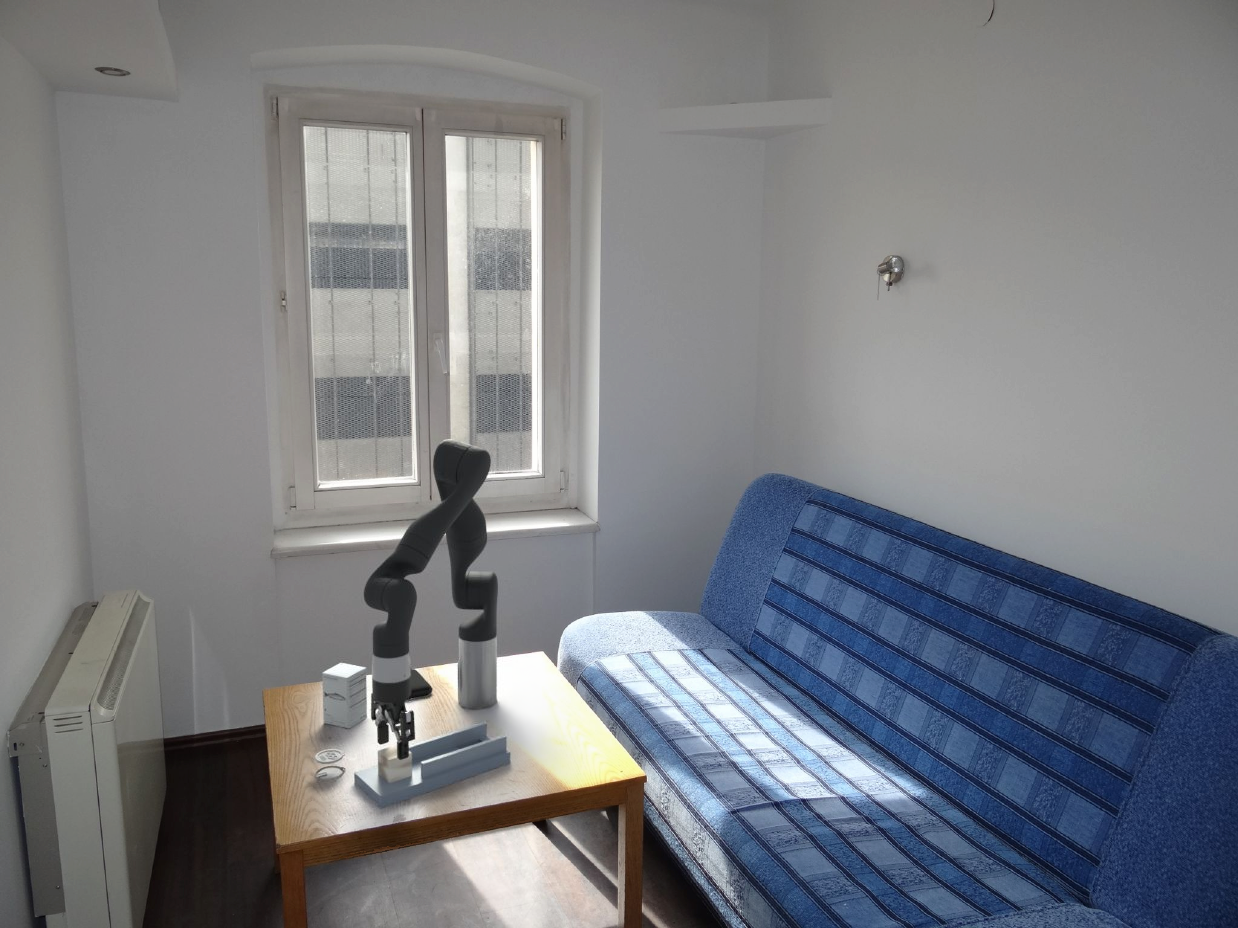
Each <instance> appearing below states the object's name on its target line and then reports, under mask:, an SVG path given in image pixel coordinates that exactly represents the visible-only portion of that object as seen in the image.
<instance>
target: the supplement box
mask: <svg viewBox="0 0 1238 928" xmlns="http://www.w3.org/2000/svg"><path fill="white" fill-rule="evenodd" d="M321 674H322V675H321V676H322V709H323V710H322V716H323V717H322V718H323V719H322V720H323V724H328V725H333V726H337V727H341V728H346V729H350V728H352V727H353V726H355V725H357V724H358V723H360V722H361V721H363V720H364V719H366V718H367V717H368V712H367V709H368V699H367V696H368V695H367V691H368V690H367V687H368V686H367V667H366V666H360V665H354V664H350V663H345V662H344V663H343V662H339V663H338V664H337V663H336V665H334V666H332V667H330V668H328V669H326V670H325V671H323V672H322V673H321Z"/></svg>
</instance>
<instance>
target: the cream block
mask: <svg viewBox="0 0 1238 928" xmlns="http://www.w3.org/2000/svg"><path fill="white" fill-rule="evenodd" d="M377 765H378V774H379V775H380V776H381V777H383V778H384V779H385V780H386V781H387V782H388V783H392V782H395V781H398V780H401V779H404V778H407V777H410V776H412V753H411V752H410V751H409V756H408V758H405V759H402V760H399V759H398V758H397V744H394V745H391V746H388V747H386V748H383V749H379V750H377Z"/></svg>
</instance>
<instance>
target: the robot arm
mask: <svg viewBox="0 0 1238 928" xmlns="http://www.w3.org/2000/svg"><path fill="white" fill-rule="evenodd" d="M491 458H492V457H491V455H490V453H489V451H487V450H486V449H484V448H481V447H480V446H476V445H473V444H469V443H466V442H465V441H461V440H457V439H453V438H451V439H450V438H448V439H444V440H442V441H440V443H439V444H438V445H437V447H436V449H435V451H434V455H433V460H432V462H433V463H432V469H433V475H434V480H435V484H436V488H437V491H438V494H439V498H440V502H439V504H437V505H435V506H433V507H432V508H431V509H428V510H427V511H426V512H424V513H422V514H421V515H419V516H418V517H417V518H416V519H414V520H413V522H412V523H411V524H410V525H409V526H408V527H407V529H406V531H405V532H404V534H403V536H402V537H401V539H400V541H399V542H398V544H397V546H396V547H395V550H394V551H393V552H392V553H391V554H390V555H389V556H388V557H387V558H386V559H385V560H384V561H383V562H382V563H381V564H380V565H379V566H378V567H377V568H376V569H375V570H374V571H373V572H372V573H371V575H370V576H369V578H367V581H366V582H365V586H364V589H363V600H364V603H365V604H366V605H367V606H368V607H370V608H371V609H373V610H376V611H377V610H378V611H382V612H385V613H387V619H386V620H384V621H380V622H378V623H377V624H376V625H374V627H373V629H372V630H373V631H372V662H371V681H372V682H371V684H372V685H371V686H372V689H371V691H372V693H371V694H370V719H371V721H374V724H375V726H376V728H377V729H376V730H377V731H376V732H377V733H376V734H377V735H376V736H377V744H379V745H384V744H385V745H386V744H388V743H389V742H390V731H391V732H392V733H393V734H394V735H395V738H396V745H397V758H398V759H399V760H402V759H405V758H408V756H409V745H410V742H411V741H414V740H416V730H415V727H416V726H415V712H414V710H413V709H411V710H407V708H406V703H405V702H406V701H407V700H406V699H407V698H409V697H410V695H411V669H412V663H411V662H412V661H411V657H410V655H411V654H410V635H409V634H410V630H411V626H412V622H413V618H414V614H415V610H416V606H417V602H418V595H417V590H416V587H415V585H414V584H413V582H412V581H410V580H409V579H406V577H409V576H410V575H417V574H420V573H423V571H424V570H425V569H426V568H427V566H428V564H429V562H430V560H431V559H432V557H433V555H434V554H435V552H436V550H437V548H438V546H439V544H440V542H441V541H442V539H443V538H444V536H445V538H446V544H447V549H448V557H449V563H450V577H451V582H450V583H451V593H452V594H451V595H452V596H451V597H452V602H453V604H454V606H455V607H456V608H457V609H460V610H468V611H470V610H471V611H472V610H473V611H475V610H477V611H481V610H482V611H483V612H481V614H479V615H477V616H475V617H472V618H469V619H466V620H464V621H463V622H461V623H460V625H459V626H458V662H457V699H458V702H459V705H460V706H461V707H463V708H465V709H469V710H483V709H487V708H491V707H492V706H494V705H496V704H497V702H498V699H497V698H498V697H497V696H498V695H497V693H498V690H497V688H498V687H497V686H498V684H497V683H498V681H497V680H498V677H497V676H498V675H497V673H498V671H497V670H498V669H497V667H498V665H497V664H498V662H497V661H498V657H497V656H498V655H497V654H498V652H497V651H498V649H497V648H498V646H497V643H498V641H497V640H498V638H497V637H498V636H497V635H498V633H497V630H498V629H497V625H498V623H497V622H498V621H497V619H498V617H497V609H498V595H499V594H498V593H499V581H498V577H497V574H496V573H495V572H493V571H482V570H481V571H480V570H479V571H477V570H476V571H470V570H469V571H468V569H469V567H470V566H471V565H473V563H474V562H475V560H476V559H477V558H478V557H479V556H480V555H481V554H482V552H483V551H484V549H485V547H486V546H487V543H488V532H487V522H486V516H485V515H484V512H483V510H482V508H480V506H479V505H478V503H477V501H476V500H475V499H474V497H475V496H476V494H477V493H478V492H479V490H480V489H481V487H482V486H483V484H484V483H485V481H486V479H487V478H488V475H489V473H490V471H491V465H492V463H491V462H492V461H491ZM399 724H400V725H399Z"/></svg>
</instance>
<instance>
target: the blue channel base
mask: <svg viewBox="0 0 1238 928" xmlns="http://www.w3.org/2000/svg"><path fill="white" fill-rule="evenodd" d="M487 728H488V727H487V722H485V721H483V722H479V723H477V724H473V725H470V726H466V727H463V728H461V729H457V730H454V731H451V732H448V733H444V734H441V735H438V736H434V737H431V738H427V739H426V740H422V741H419V742H416V743H413V744H409V751H410V752H411V753H412V776H410V777H407V778H404V779H401V780H398V781H395V782H392V783H388V782H387V781H386V780H385V779H384V778H383V777H381V776H380V775H379V774H378V764H377V765H374V766H373V765H372V766H369V767H368V768H364V769H361V770H358V771H355V772H353V775H354V776H353V779H354V785H355V786H356V787H358V788H359V790H360V791H362V792H363V793H364V794H365V795H366V796H367V797H368V798H369V799H370V800H372V801H373V802H374V804H376V805H377V807H379V808H380V809H383V808H386V807H390V806H392V805H395V804H398V803H401V802H404V801H406V800H409V799H411V798H415V797H418V796H420V795H423V794H427V793H429V792H431V791H434V790H437V789H440V788H444V787H446V786H449V785H451V784H455V783H457V782H460V781H463V780H465V779H469V778H471V777H474V776H478V775H481V774H482V773H486V772H489V771H491V770H495V769H497V768H500V767H503V766H505V765H509V764H511V751H509V750H508V749H507V746H508V745H507V743H508V742H507V740H508V739H507V738H508V737H507V736H506V734H502V735H499V736H496V737H493V738H490V737H488V735H487V733H488V732H487Z"/></svg>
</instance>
